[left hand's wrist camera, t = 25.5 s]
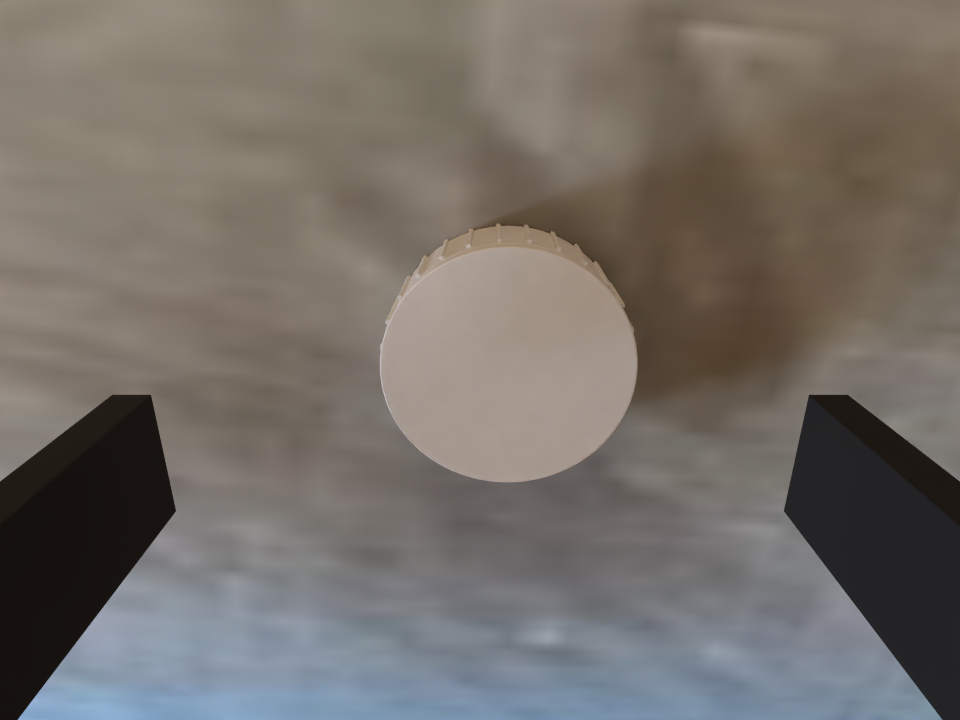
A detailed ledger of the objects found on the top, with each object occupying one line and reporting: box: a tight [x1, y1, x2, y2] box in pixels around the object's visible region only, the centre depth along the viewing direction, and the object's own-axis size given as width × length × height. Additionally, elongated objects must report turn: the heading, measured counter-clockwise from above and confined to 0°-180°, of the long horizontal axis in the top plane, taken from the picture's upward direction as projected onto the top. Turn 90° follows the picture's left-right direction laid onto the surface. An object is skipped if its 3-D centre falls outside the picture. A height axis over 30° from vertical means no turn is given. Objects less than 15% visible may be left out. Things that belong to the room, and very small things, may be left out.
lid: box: [380, 223, 638, 482], centre depth 16 cm, size 6×6×2 cm
